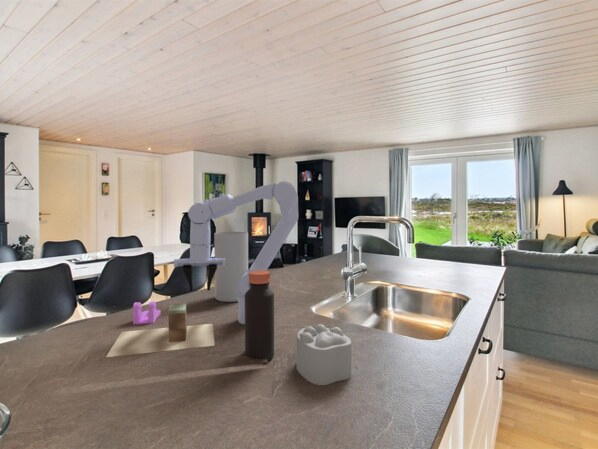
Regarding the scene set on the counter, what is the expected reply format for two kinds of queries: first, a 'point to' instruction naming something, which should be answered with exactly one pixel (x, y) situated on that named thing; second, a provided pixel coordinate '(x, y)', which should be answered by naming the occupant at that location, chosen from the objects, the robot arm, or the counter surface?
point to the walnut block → (177, 322)
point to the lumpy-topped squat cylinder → (323, 354)
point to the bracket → (145, 313)
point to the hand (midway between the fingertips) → (200, 290)
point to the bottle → (259, 317)
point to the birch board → (161, 340)
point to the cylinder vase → (230, 263)
